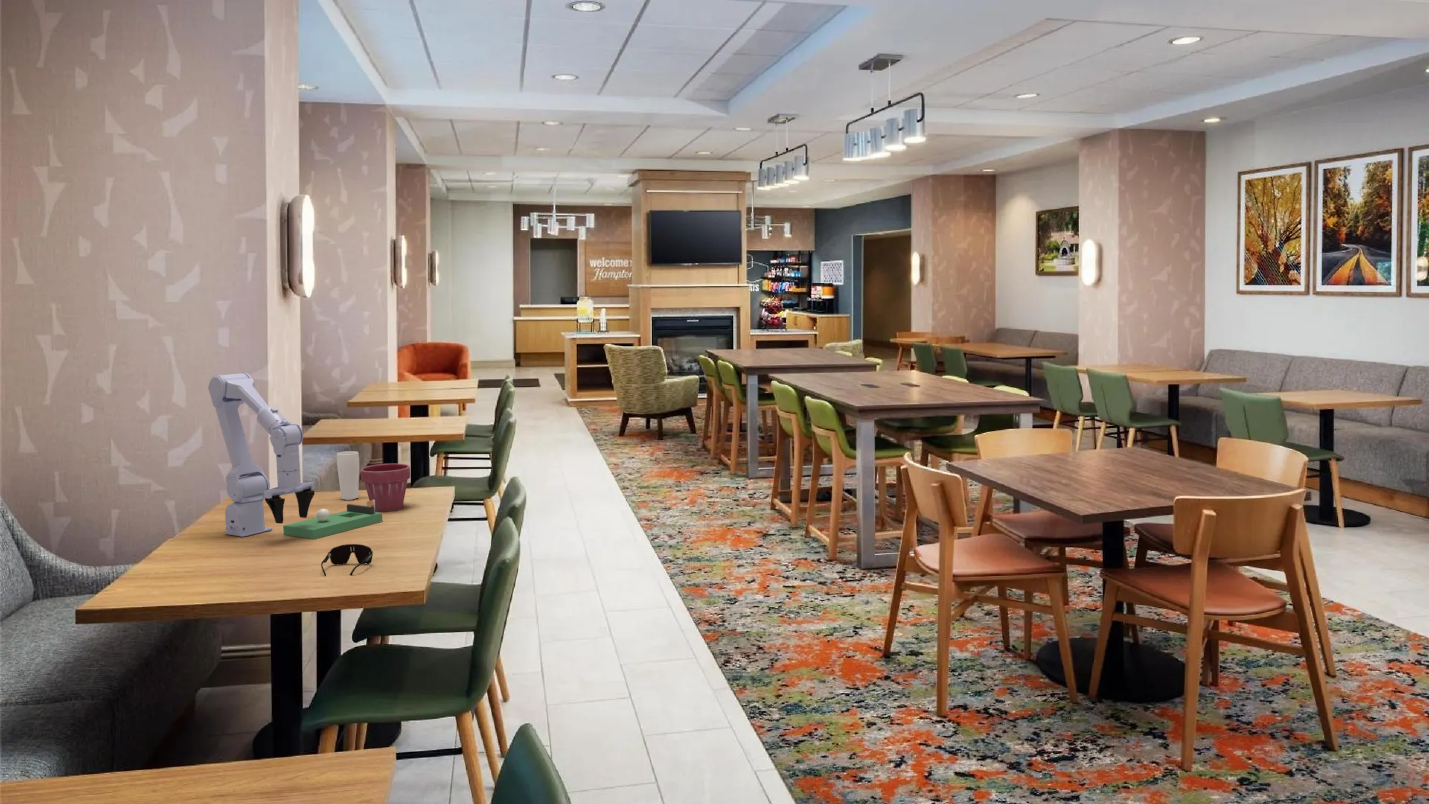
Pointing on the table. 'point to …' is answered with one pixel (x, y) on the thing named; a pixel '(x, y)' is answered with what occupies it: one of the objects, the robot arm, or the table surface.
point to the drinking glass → (348, 474)
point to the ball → (323, 515)
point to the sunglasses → (343, 554)
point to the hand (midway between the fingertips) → (291, 520)
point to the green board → (335, 522)
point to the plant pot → (386, 485)
